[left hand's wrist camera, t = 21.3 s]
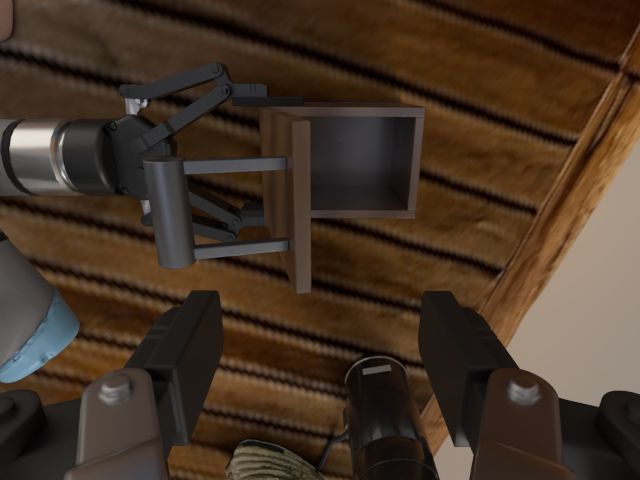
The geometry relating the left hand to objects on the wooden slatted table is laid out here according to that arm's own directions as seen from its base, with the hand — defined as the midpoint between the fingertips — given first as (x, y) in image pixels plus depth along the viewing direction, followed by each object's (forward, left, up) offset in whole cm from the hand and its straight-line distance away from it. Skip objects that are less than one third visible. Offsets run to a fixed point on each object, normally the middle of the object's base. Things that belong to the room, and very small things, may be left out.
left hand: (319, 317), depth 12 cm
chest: (+1, -2, -36) cm, 36 cm away
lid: (-1, +2, -18) cm, 18 cm away
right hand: (-1, +1, -29) cm, 29 cm away
